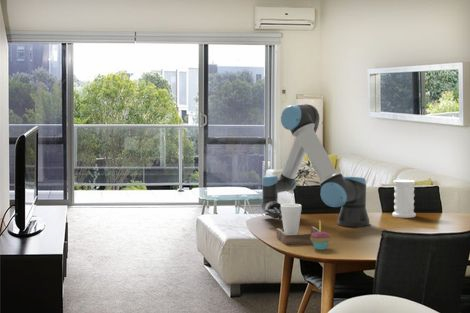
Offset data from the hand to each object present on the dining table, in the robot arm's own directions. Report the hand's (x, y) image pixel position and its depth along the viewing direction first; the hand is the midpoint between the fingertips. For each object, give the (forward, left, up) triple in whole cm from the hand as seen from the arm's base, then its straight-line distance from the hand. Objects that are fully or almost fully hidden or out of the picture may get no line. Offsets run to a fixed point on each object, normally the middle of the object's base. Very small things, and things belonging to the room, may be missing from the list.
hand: (286, 217), depth 341 cm
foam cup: (-3, +4, -7) cm, 8 cm away
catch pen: (-9, +17, -6) cm, 20 cm away
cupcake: (-20, +32, -7) cm, 39 cm away
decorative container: (-51, -53, -7) cm, 74 cm away
